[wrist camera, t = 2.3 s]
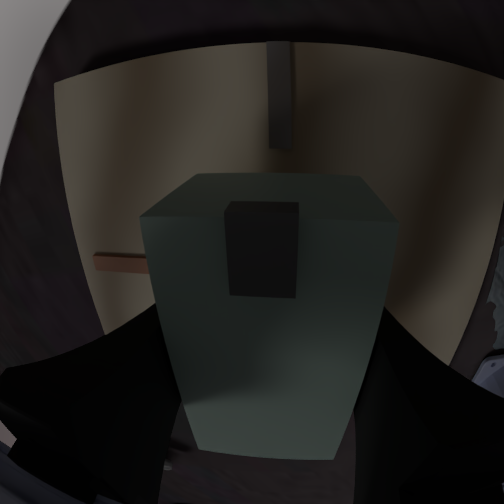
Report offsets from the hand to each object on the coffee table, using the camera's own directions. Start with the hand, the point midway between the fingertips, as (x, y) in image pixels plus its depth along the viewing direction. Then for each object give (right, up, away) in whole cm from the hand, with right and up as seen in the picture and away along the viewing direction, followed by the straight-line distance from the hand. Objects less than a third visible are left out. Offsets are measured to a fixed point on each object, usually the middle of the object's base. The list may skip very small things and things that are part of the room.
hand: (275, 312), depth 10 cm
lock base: (+1, +2, +4) cm, 4 cm away
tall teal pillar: (0, 0, +1) cm, 1 cm away
